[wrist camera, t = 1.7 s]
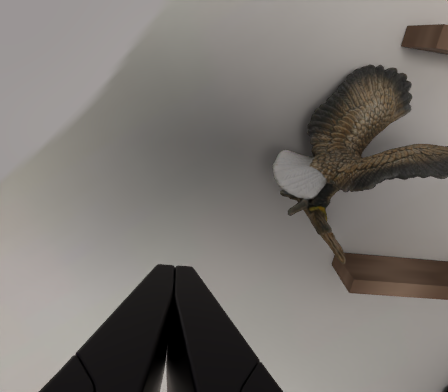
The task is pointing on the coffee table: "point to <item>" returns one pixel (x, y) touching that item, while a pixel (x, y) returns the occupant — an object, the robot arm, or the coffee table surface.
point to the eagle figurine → (354, 147)
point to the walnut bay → (393, 266)
